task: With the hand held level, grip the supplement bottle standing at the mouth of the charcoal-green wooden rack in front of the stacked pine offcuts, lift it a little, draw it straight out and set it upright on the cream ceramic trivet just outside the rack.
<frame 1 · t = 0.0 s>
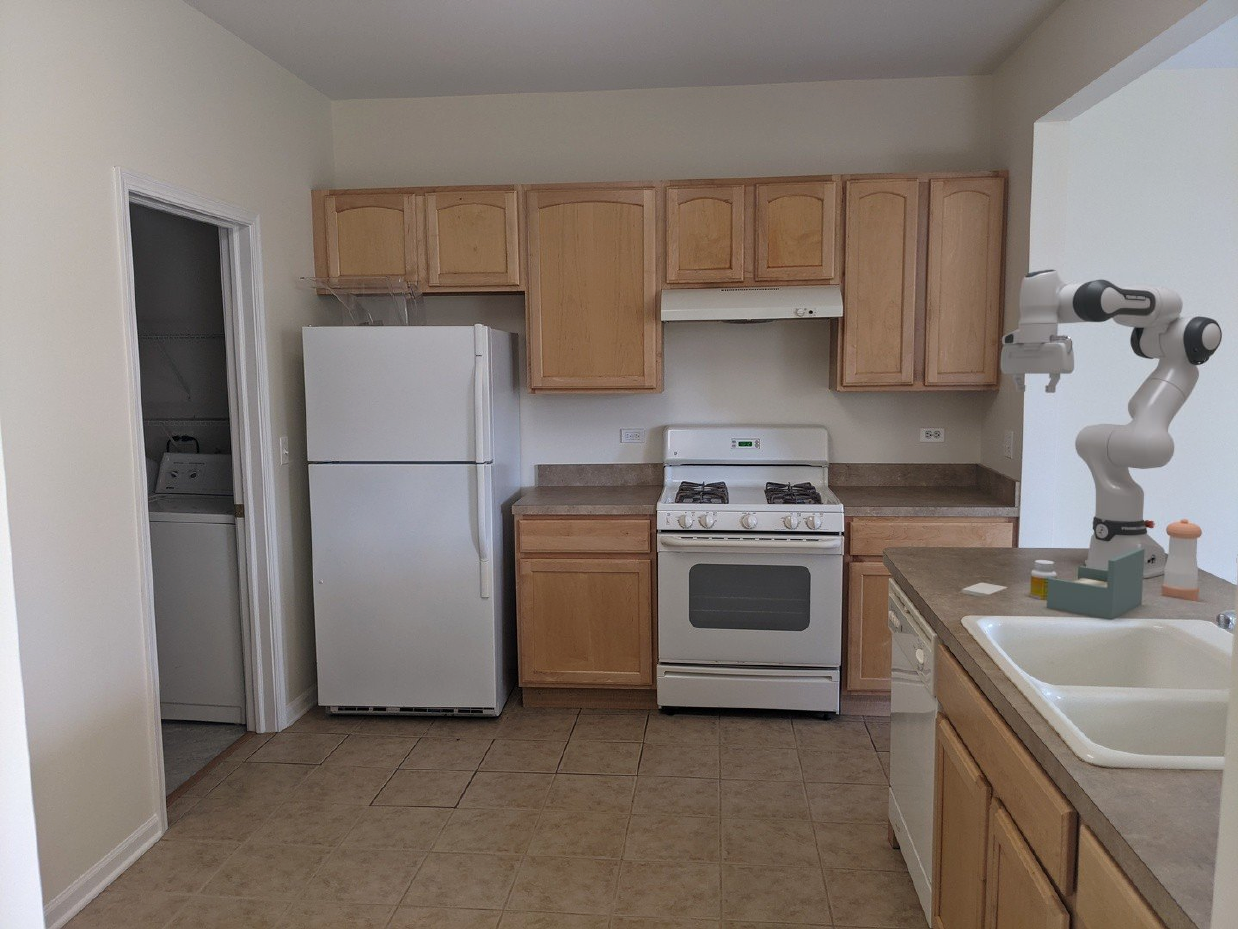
hand: (1035, 392, 221), 48 cm above the counter, tool pointing down, fingers open, 8 cm apart
trivet: (991, 593, 213), on the counter
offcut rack: (1091, 611, 197), on the counter
pepper shaker: (1179, 601, 206), on the counter
supplement bottle: (1042, 603, 205), on the counter
birch offcut top: (1092, 592, 196), point 4 cm above the counter, touching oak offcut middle
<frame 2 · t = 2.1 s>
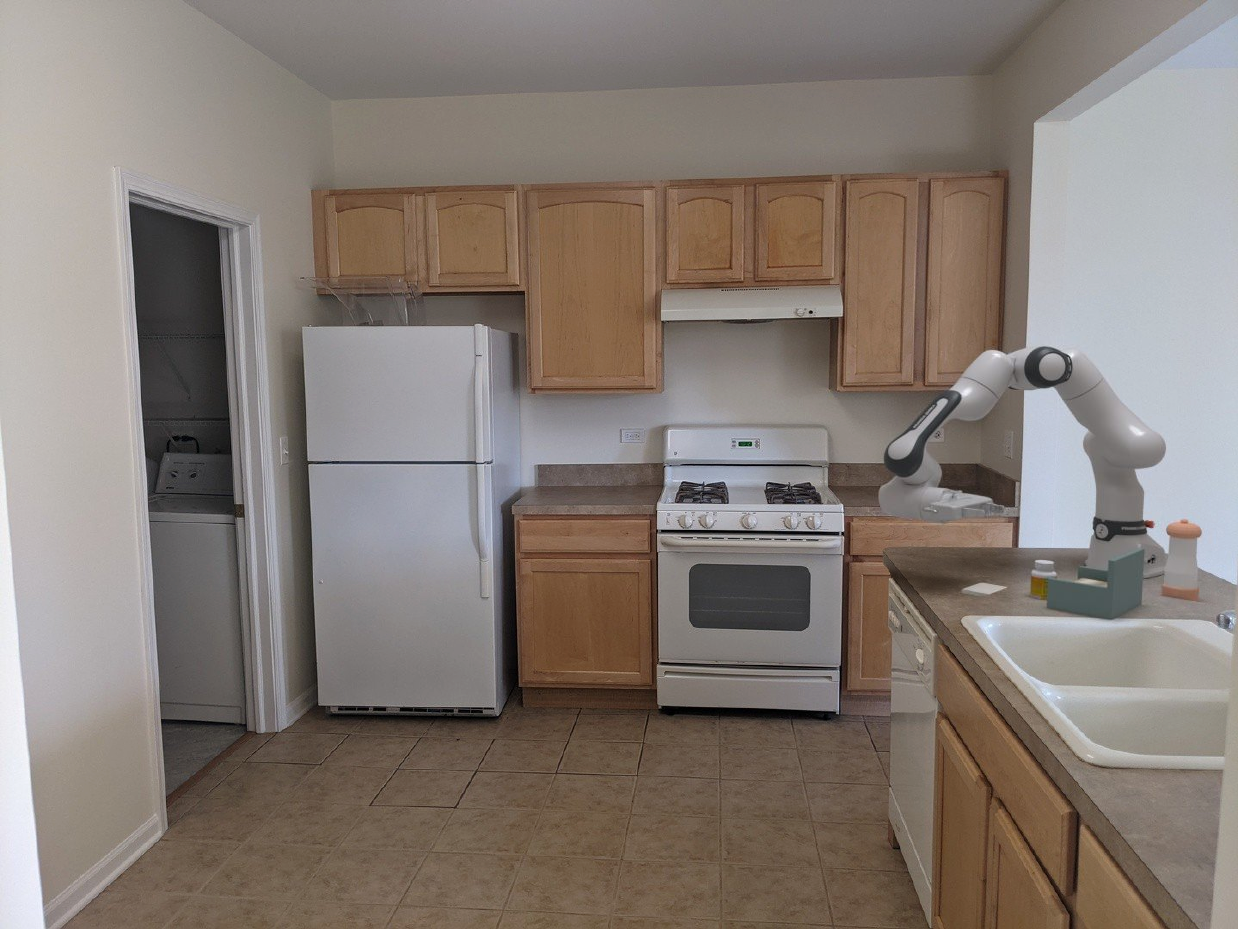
hand: (994, 511, 211), 20 cm above the counter, tool horizontal, fingers open, 8 cm apart
nothing on the counter moved.
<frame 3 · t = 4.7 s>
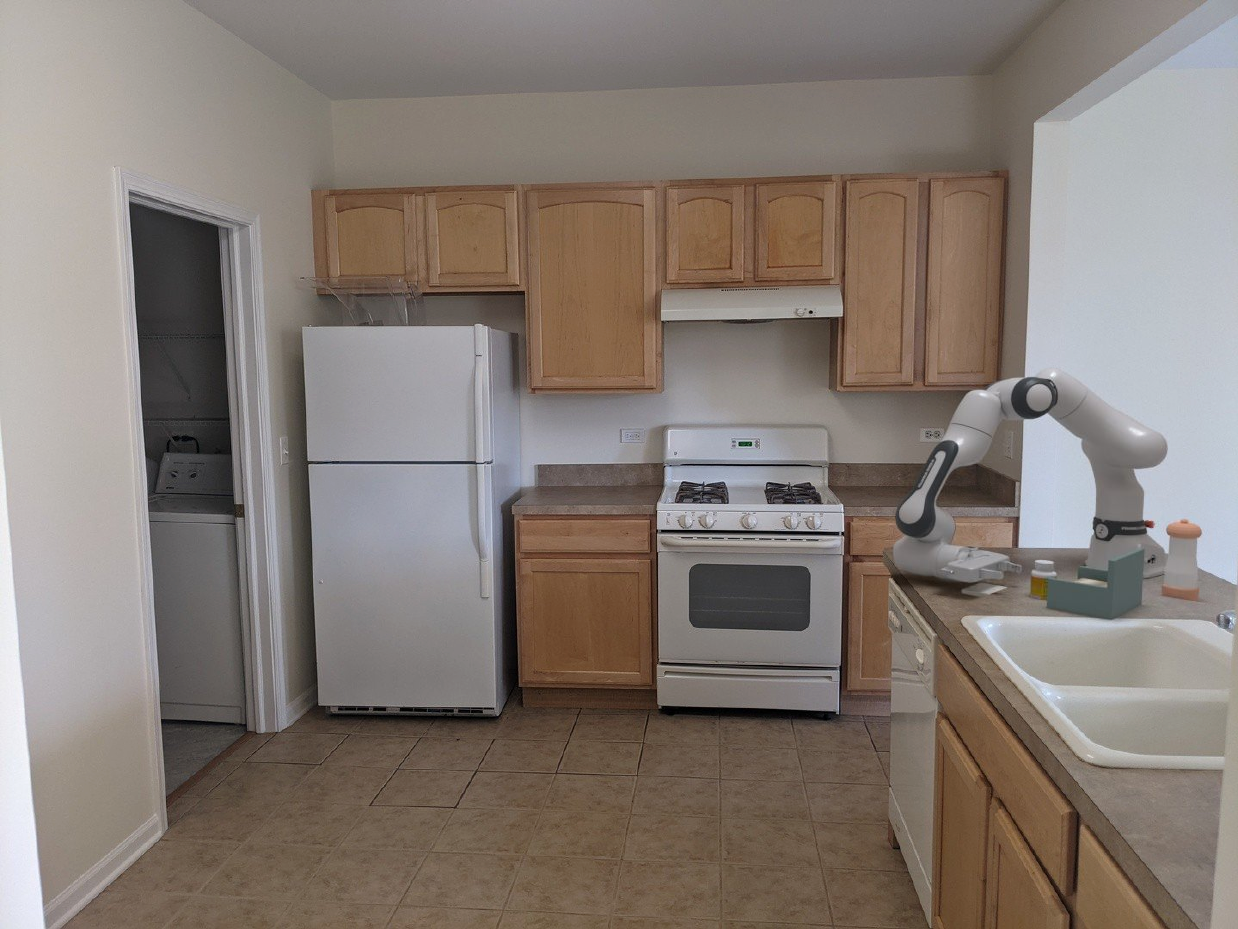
hand: (1011, 572, 209), 6 cm above the counter, tool horizontal, fingers open, 8 cm apart
nothing on the counter moved.
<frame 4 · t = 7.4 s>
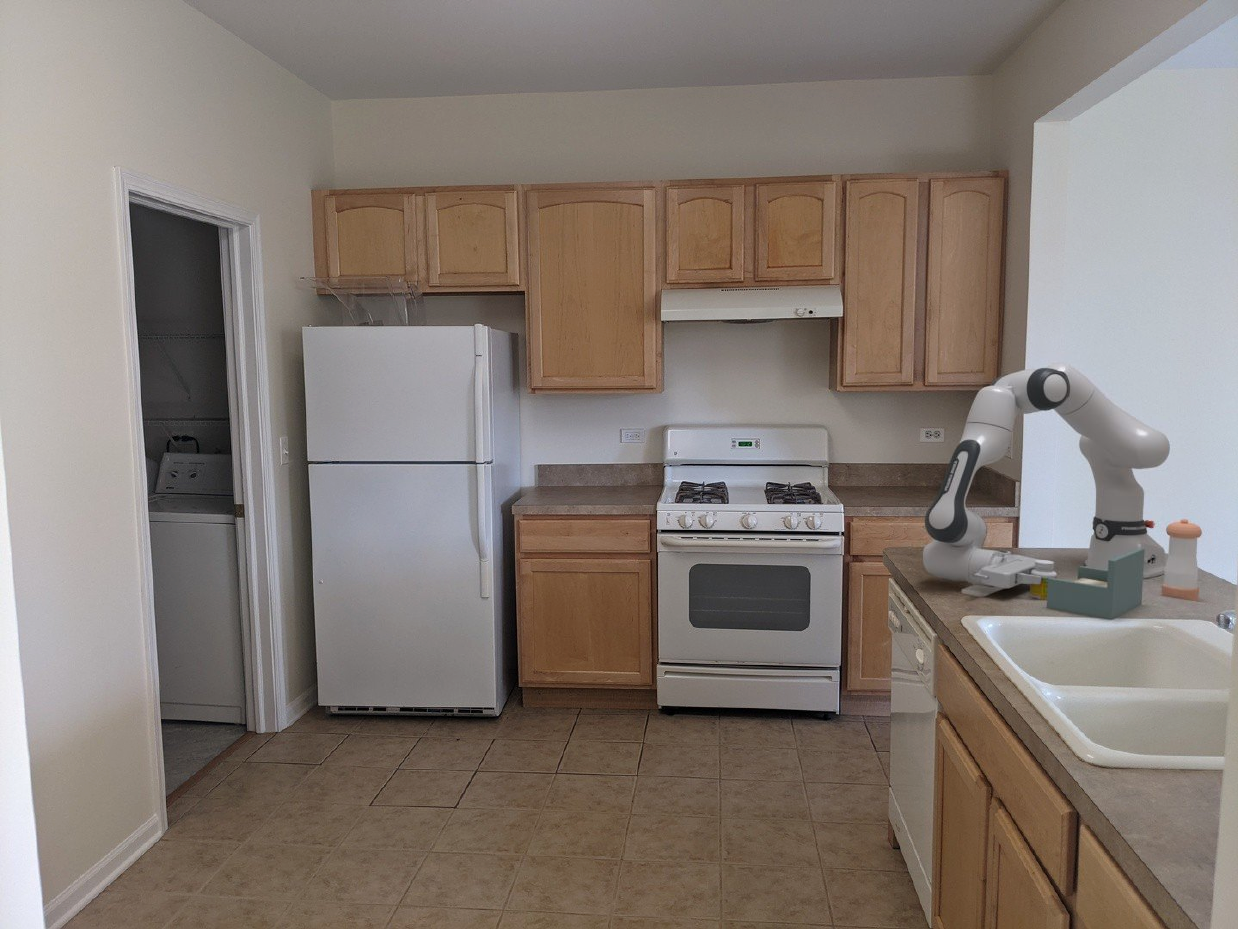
hand: (1047, 578, 203), 6 cm above the counter, tool horizontal, fingers closed on supplement bottle, 5 cm apart
supplement bottle: (1042, 603, 205), on the counter, touching gripper
everything else where it was.
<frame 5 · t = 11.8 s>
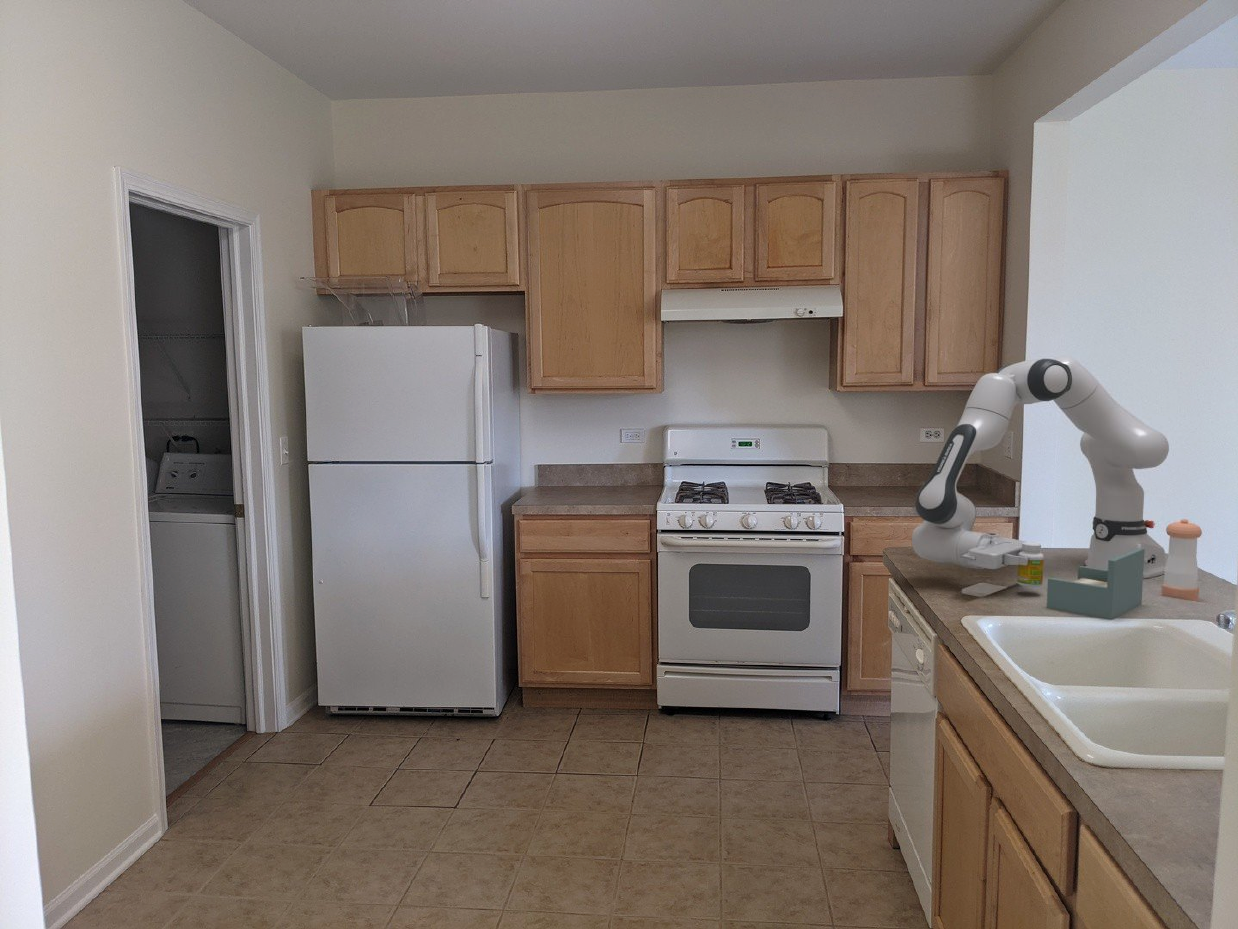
hand: (1034, 559, 205), 10 cm above the counter, tool horizontal, fingers closed on supplement bottle, 5 cm apart
supplement bottle: (1029, 585, 206), point 4 cm above the counter, touching gripper
everything else where it was.
when the fingers open (8 cm above the counter, at t = 16.2 s): supplement bottle stays where it is, resting on trivet.
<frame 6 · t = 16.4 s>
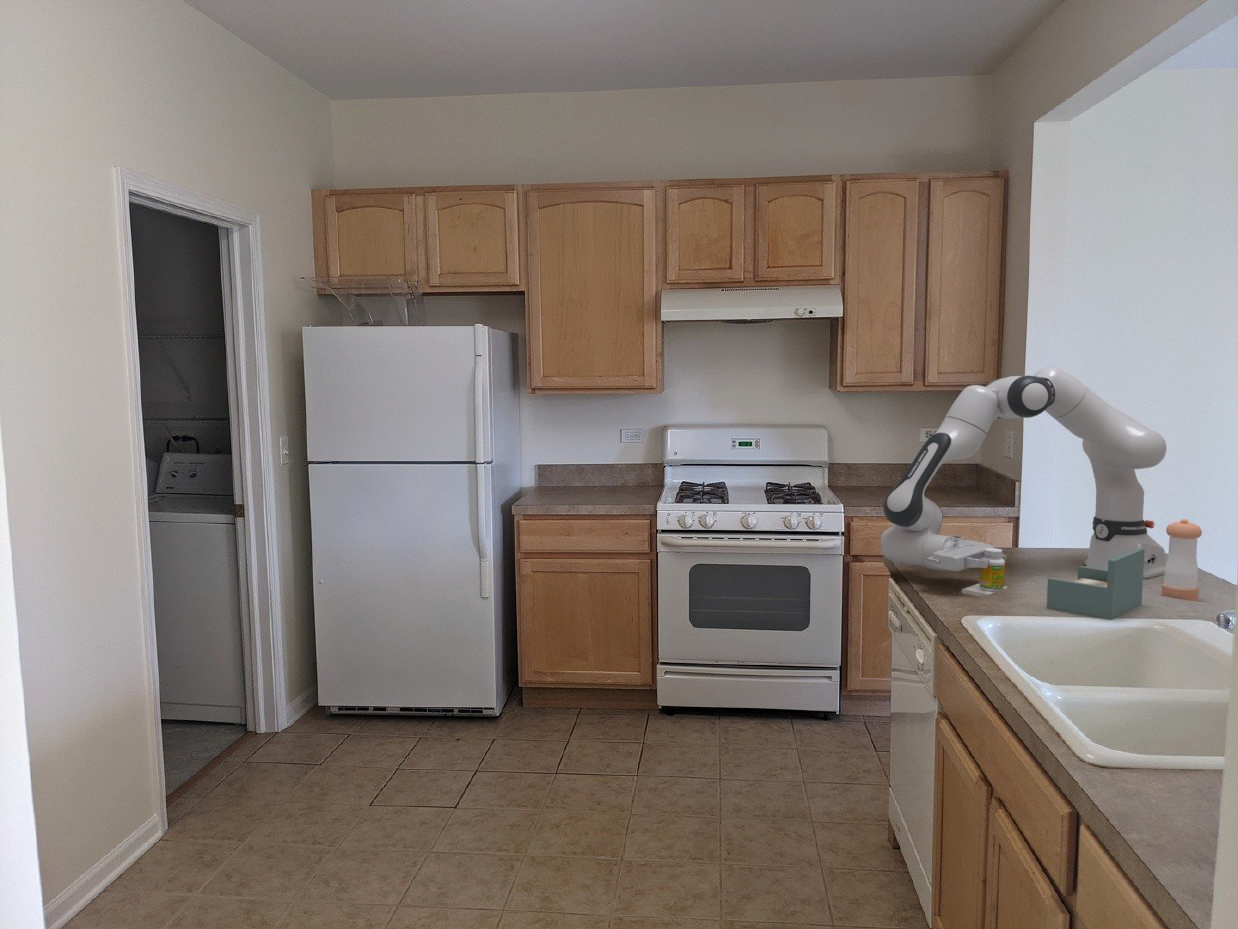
hand: (996, 561, 212), 8 cm above the counter, tool horizontal, fingers open, 7 cm apart
supplement bottle: (991, 590, 213), point 1 cm above the counter, touching trivet
everything else where it was.
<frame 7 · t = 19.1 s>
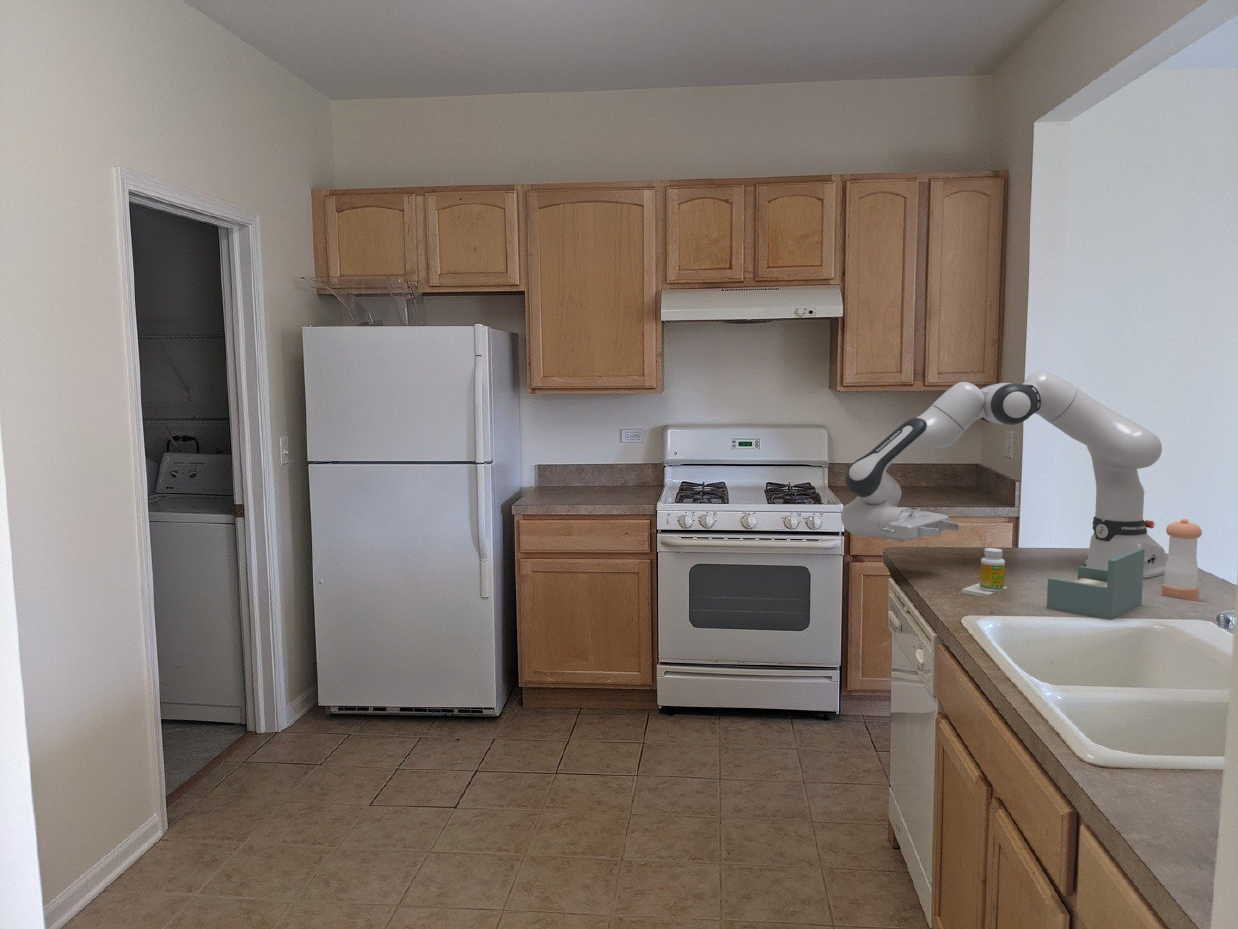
hand: (948, 529, 221), 14 cm above the counter, tool horizontal, fingers open, 8 cm apart
nothing on the counter moved.
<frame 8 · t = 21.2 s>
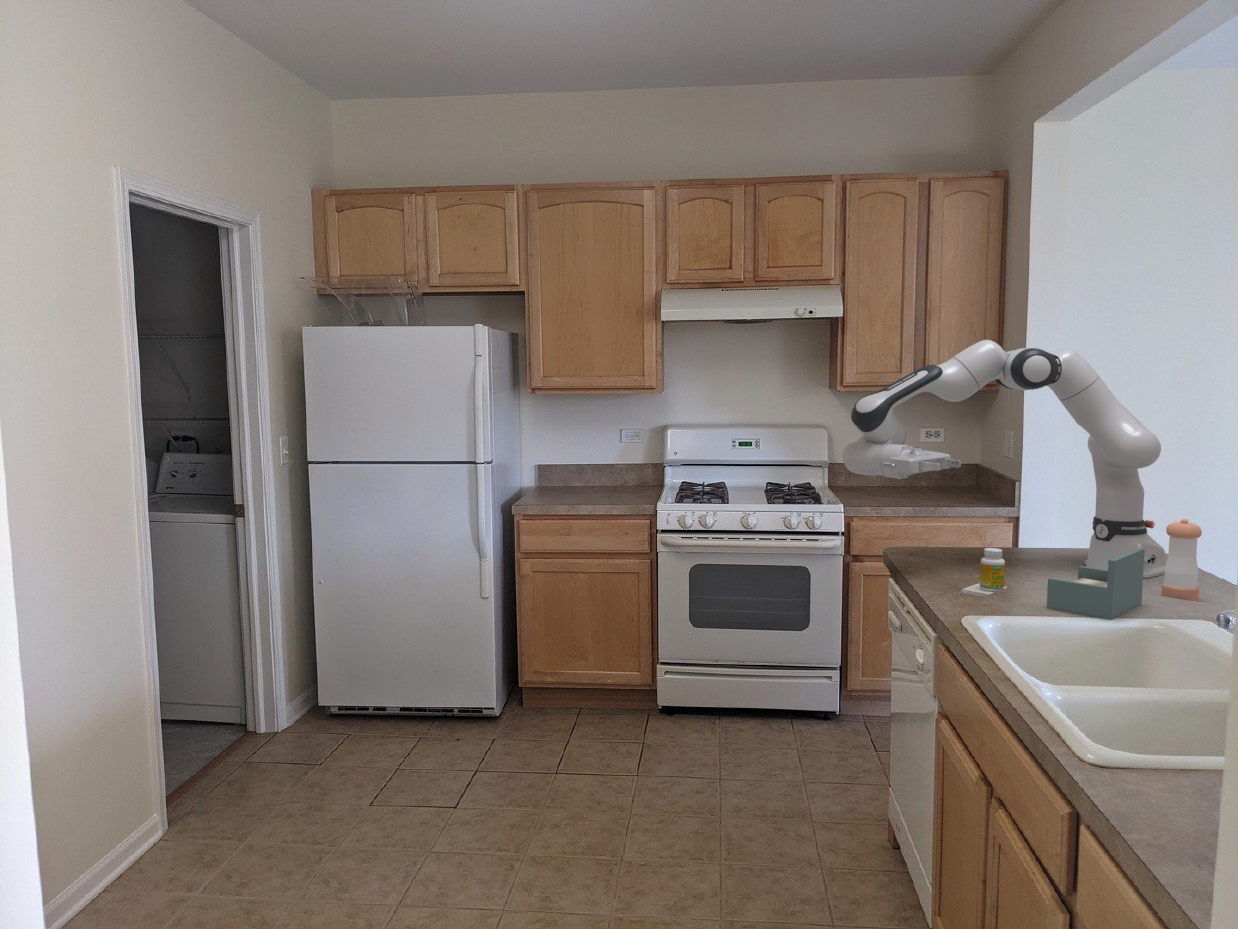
hand: (950, 465, 220), 30 cm above the counter, tool horizontal, fingers open, 8 cm apart
nothing on the counter moved.
at the end: supplement bottle 0.1 cm from the trivet (horizontally); supplement bottle tilted 0°; the gripper is holding nothing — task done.
